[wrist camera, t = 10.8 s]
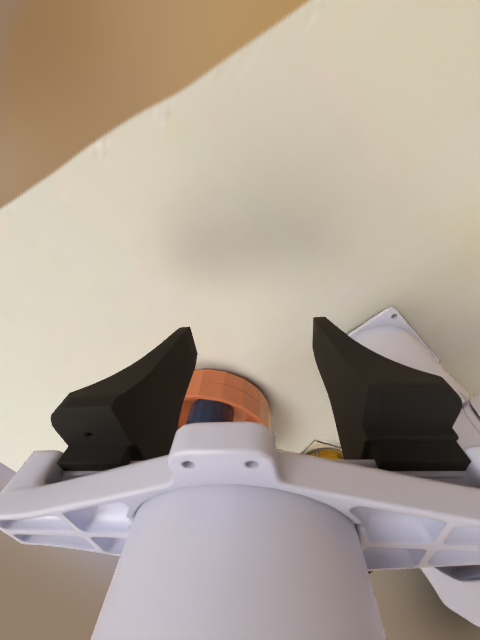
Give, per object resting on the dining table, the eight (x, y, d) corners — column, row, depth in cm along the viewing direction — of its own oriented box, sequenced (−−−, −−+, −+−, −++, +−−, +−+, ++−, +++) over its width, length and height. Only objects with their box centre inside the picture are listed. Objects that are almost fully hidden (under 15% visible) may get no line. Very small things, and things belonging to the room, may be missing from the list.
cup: (243, 413, 31) (240, 464, 26) (215, 431, 34) (206, 482, 28) (208, 390, 29) (197, 440, 24) (181, 411, 32) (165, 461, 26)
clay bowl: (293, 410, 31) (298, 444, 27) (219, 453, 38) (215, 485, 34) (203, 344, 27) (194, 373, 23) (135, 406, 33) (119, 437, 29)
